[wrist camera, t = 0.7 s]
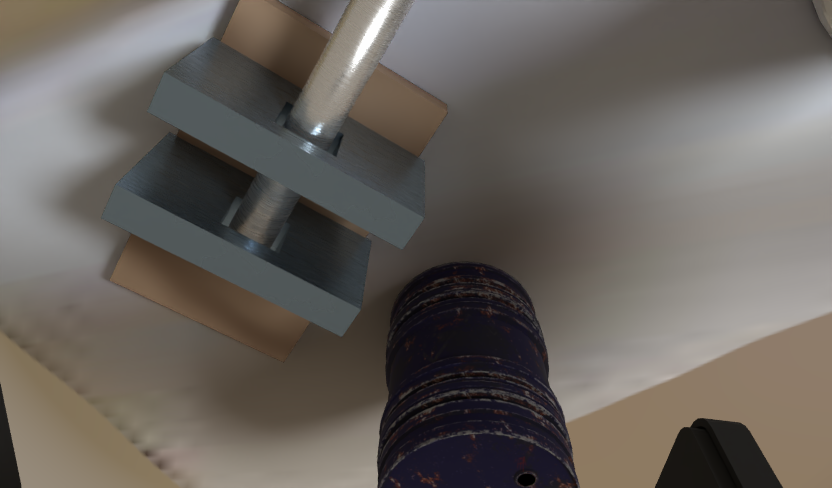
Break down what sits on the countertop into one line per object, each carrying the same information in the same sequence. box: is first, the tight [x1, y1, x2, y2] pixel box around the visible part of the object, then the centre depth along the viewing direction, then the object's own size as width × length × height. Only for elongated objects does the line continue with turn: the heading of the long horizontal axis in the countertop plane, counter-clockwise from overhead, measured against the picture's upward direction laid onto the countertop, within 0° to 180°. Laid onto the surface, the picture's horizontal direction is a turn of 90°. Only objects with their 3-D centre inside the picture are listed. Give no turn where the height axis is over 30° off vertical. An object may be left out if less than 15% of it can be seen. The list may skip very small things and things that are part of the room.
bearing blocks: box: [101, 37, 425, 337], centre depth 34 cm, size 8×13×7 cm, turn 58°
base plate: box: [110, 0, 448, 362], centre depth 39 cm, size 20×12×2 cm, turn 148°
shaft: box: [228, 0, 415, 248], centre depth 31 cm, size 22×5×5 cm, turn 148°
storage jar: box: [377, 262, 580, 488], centre depth 38 cm, size 10×10×15 cm
